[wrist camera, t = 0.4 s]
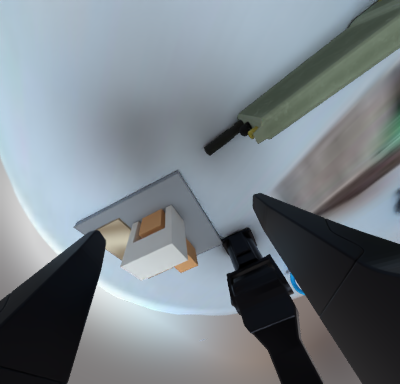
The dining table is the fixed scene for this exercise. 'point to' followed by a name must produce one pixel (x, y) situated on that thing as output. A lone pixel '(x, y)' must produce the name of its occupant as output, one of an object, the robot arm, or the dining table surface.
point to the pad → (117, 237)
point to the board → (155, 200)
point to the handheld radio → (320, 75)
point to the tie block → (156, 248)
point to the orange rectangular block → (157, 223)
